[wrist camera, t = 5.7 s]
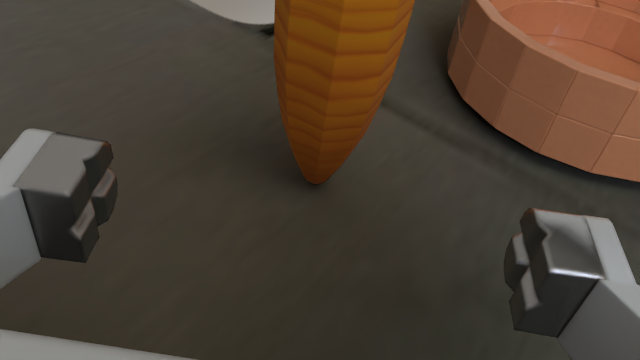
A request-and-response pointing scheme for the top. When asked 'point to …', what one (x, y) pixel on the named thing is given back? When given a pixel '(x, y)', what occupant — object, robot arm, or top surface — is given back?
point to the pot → (555, 77)
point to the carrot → (334, 73)
